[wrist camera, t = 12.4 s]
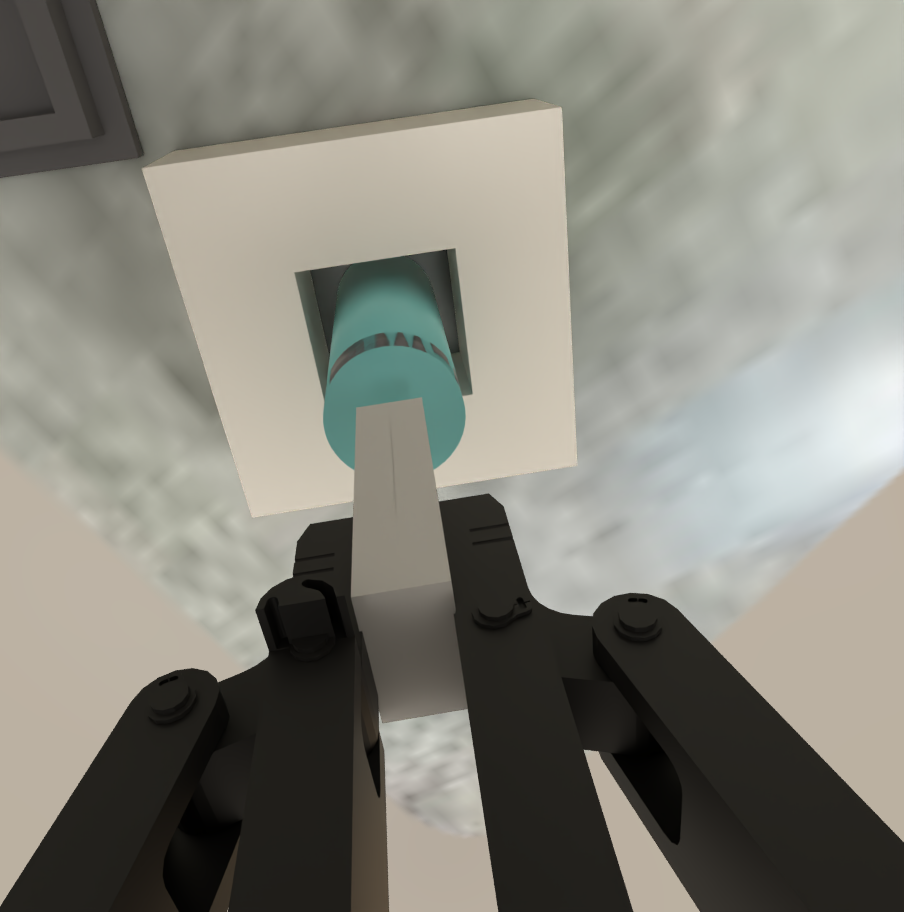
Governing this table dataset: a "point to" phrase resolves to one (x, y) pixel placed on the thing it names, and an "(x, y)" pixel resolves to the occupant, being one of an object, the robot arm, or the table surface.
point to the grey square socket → (59, 89)
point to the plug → (390, 355)
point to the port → (366, 239)
